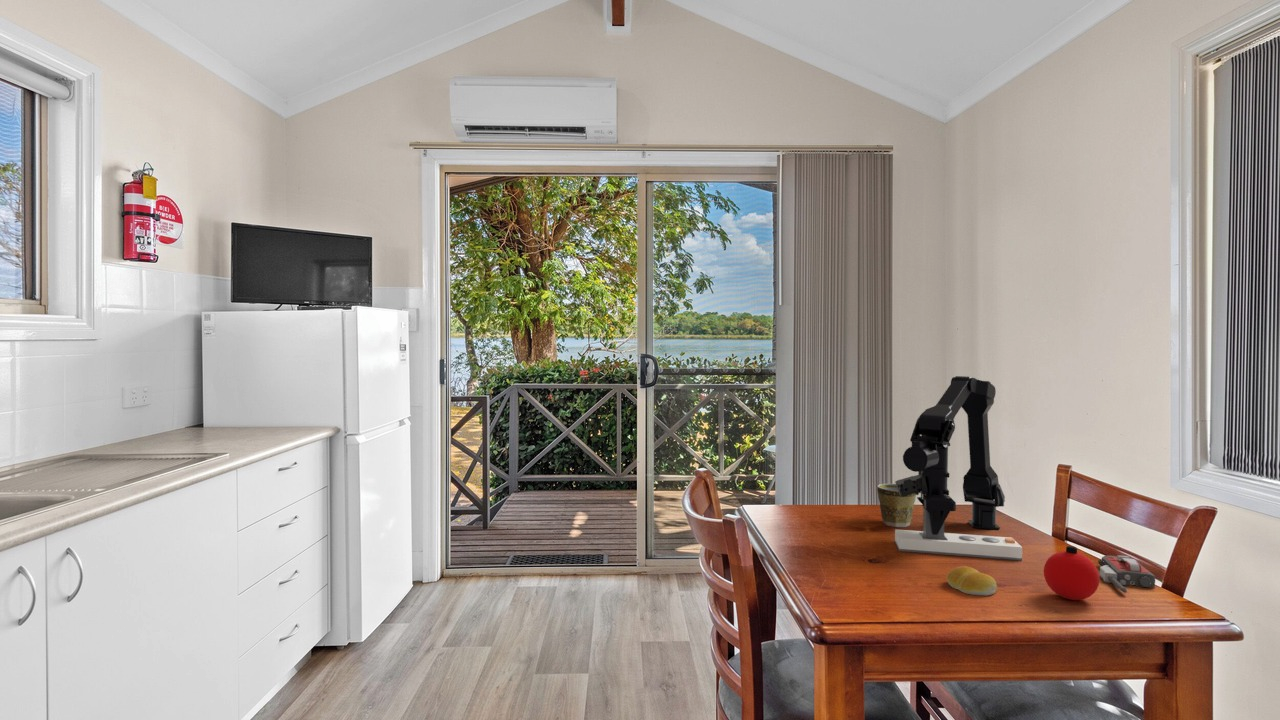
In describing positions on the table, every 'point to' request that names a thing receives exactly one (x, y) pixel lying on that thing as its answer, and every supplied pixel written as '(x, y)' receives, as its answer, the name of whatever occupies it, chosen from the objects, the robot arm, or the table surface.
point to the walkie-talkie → (1125, 572)
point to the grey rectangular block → (927, 528)
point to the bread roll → (971, 581)
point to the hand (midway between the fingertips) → (933, 532)
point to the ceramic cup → (895, 506)
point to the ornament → (1071, 574)
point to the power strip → (959, 545)
